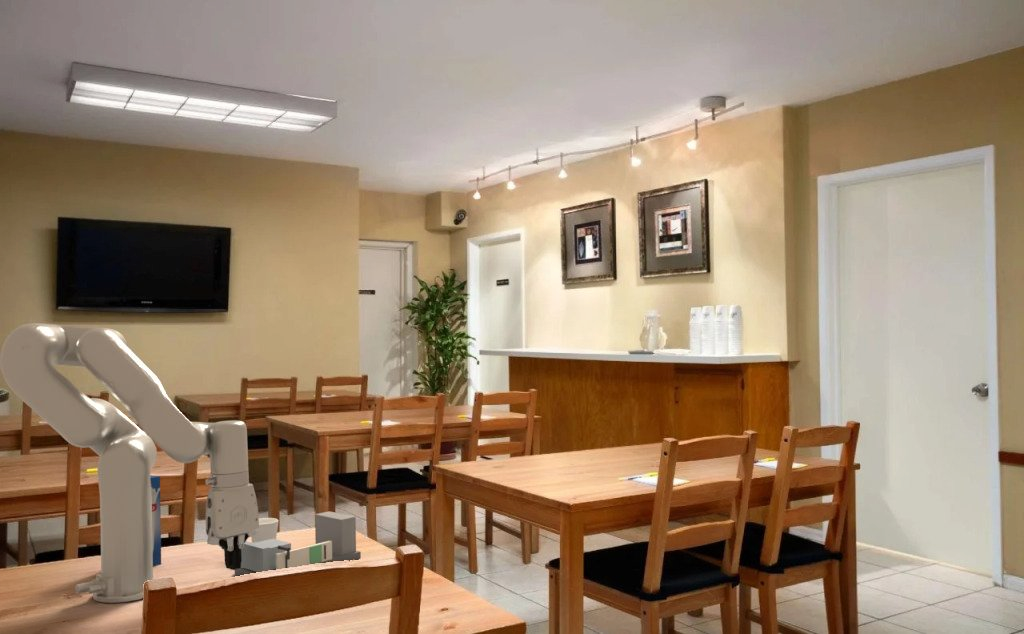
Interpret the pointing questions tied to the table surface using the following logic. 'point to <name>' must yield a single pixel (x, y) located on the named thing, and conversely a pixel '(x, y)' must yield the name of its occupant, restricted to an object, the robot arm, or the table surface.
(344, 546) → the frame
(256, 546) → the grey block
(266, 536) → the cup
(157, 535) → the milk carton
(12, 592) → the table surface
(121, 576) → the robot arm
